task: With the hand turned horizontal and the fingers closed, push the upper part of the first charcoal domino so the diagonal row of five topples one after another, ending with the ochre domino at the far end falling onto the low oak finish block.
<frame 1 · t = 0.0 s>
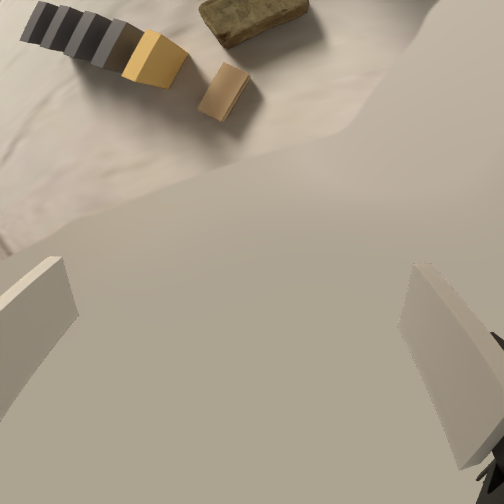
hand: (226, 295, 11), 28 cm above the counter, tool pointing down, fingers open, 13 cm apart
domino 1: (77, 34, 30), on the counter
stone block: (257, 14, 29), on the counter
domino 5: (172, 68, 32), on the counter
finish block: (226, 93, 33), on the counter
domino 2: (98, 40, 30), on the counter
domino 3: (120, 48, 31), on the counter
domino 4: (145, 57, 31), on the counter
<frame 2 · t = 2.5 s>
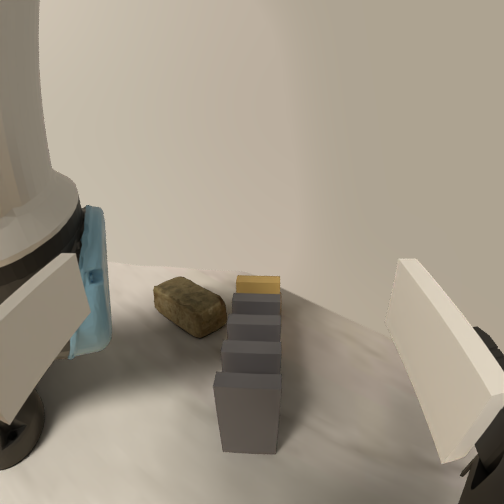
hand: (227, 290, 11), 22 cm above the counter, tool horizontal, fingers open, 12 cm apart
domino 1: (249, 446, 26), on the counter
stone block: (190, 320, 47), on the counter
domino 5: (258, 345, 41), on the counter
domino 2: (252, 416, 30), on the counter
domino 3: (254, 389, 34), on the counter
domino 4: (256, 365, 37), on the counter
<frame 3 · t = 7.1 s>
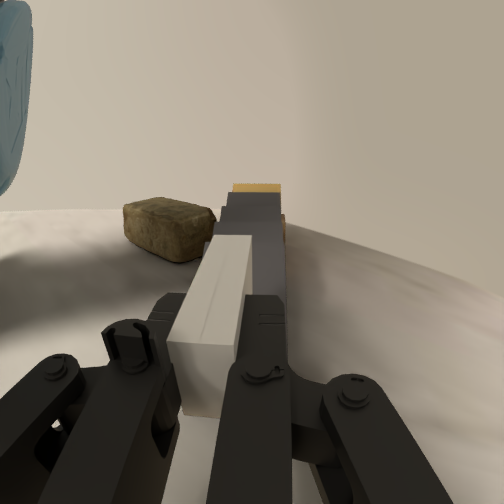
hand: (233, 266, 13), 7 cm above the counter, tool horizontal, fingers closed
domino 1: (235, 406, 14), point 1 cm above the counter, tilted 65°, touching domino 2
stone block: (169, 248, 35), on the counter
domino 5: (252, 266, 28), point 1 cm above the counter, tilted 60°, touching domino 4, finish block
domino 2: (241, 354, 18), point 1 cm above the counter, tilted 64°, touching domino 1, domino 3
domino 3: (246, 316, 21), point 1 cm above the counter, tilted 63°, touching domino 2, domino 4
domino 4: (249, 287, 25), point 1 cm above the counter, tilted 60°, touching domino 3, domino 5
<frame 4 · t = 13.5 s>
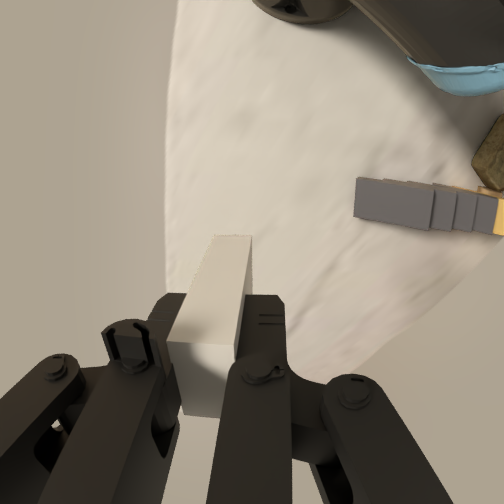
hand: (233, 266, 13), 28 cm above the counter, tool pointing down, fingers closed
domino 1: (356, 196, 39), point 1 cm above the counter, tilted 63°, touching domino 2
stone block: (493, 149, 35), on the counter
domino 5: (449, 203, 38), point 1 cm above the counter, tilted 60°, touching domino 4, finish block
finish block: (481, 205, 38), on the counter
domino 2: (381, 198, 39), point 1 cm above the counter, tilted 63°, touching domino 1, domino 3
domino 3: (405, 199, 39), point 1 cm above the counter, tilted 63°, touching domino 2, domino 4
domino 4: (430, 201, 38), point 1 cm above the counter, tilted 60°, touching domino 3, domino 5
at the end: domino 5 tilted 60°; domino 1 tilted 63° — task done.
